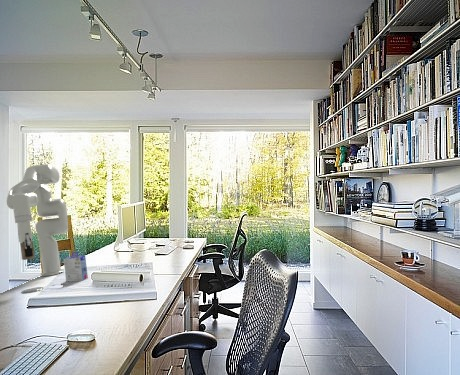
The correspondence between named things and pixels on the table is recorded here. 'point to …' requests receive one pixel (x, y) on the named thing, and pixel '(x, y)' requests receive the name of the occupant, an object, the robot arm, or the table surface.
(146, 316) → the table surface
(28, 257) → the walnut block
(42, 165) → the robot arm
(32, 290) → the slate coaster
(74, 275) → the ink cartridge box
